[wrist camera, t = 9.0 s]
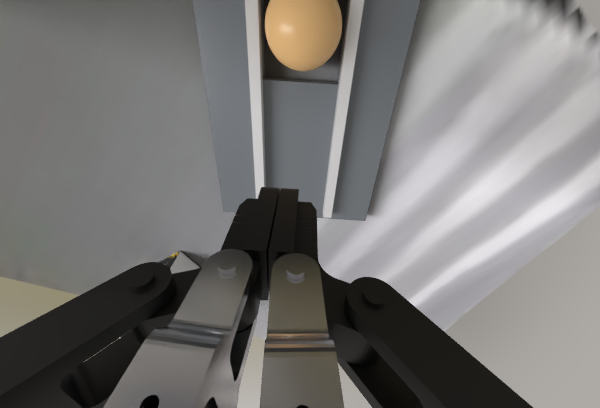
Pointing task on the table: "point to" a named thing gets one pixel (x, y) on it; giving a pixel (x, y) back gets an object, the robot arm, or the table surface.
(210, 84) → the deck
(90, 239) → the table surface
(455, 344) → the robot arm
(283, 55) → the ball
